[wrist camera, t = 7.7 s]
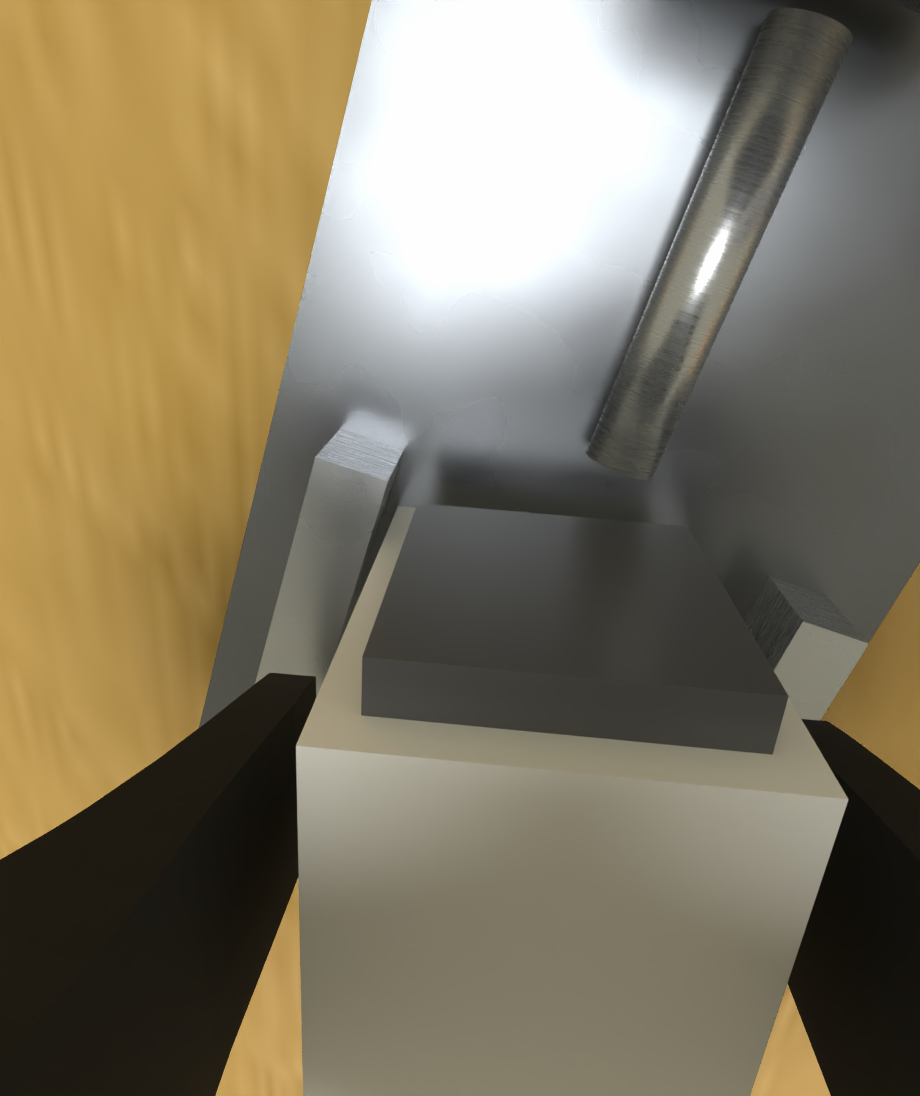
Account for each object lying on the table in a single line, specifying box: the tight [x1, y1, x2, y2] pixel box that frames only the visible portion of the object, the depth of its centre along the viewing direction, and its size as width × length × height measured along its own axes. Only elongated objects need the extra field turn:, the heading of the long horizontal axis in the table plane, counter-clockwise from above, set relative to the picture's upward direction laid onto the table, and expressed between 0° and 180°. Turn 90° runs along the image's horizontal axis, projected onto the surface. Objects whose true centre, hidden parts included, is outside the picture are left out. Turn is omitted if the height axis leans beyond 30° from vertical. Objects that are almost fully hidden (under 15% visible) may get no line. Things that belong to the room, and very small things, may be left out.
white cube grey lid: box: [296, 503, 849, 1096], centre depth 10 cm, size 5×4×6 cm
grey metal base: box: [199, 0, 920, 728], centre depth 8 cm, size 10×20×8 cm, turn 161°
